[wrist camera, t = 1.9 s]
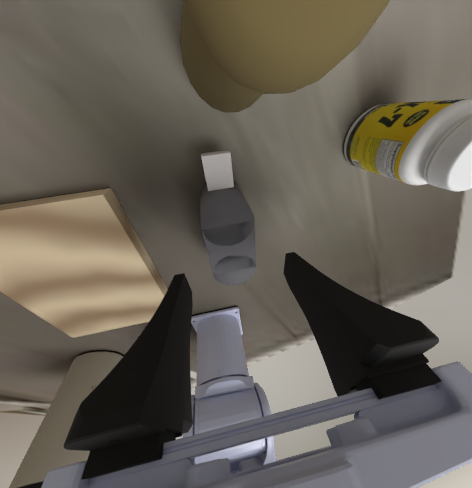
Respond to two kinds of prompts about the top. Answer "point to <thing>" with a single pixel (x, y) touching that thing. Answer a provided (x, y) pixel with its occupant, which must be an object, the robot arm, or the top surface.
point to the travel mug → (63, 419)
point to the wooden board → (77, 263)
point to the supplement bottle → (415, 143)
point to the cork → (267, 44)
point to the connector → (226, 222)
